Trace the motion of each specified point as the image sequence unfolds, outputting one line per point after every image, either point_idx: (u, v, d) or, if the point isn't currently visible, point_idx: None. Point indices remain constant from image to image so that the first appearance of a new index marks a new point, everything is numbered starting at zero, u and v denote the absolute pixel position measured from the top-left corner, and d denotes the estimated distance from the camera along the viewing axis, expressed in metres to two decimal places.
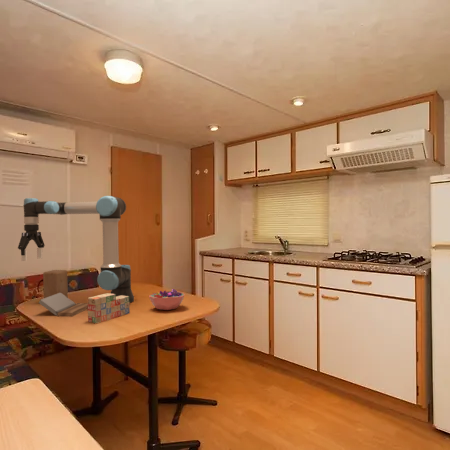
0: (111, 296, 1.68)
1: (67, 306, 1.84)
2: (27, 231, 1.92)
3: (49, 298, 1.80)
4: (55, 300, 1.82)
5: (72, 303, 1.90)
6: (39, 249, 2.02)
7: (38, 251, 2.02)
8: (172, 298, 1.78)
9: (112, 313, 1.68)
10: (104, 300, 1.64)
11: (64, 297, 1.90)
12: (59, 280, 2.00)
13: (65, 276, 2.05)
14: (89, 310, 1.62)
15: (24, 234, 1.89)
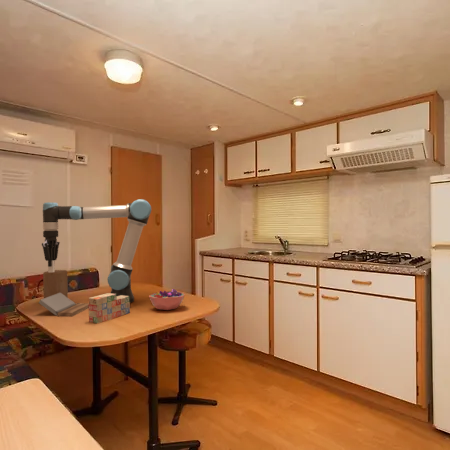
0: (112, 296, 1.68)
1: (67, 306, 1.84)
2: (46, 238, 1.80)
3: (49, 298, 1.80)
4: (55, 300, 1.82)
5: (72, 303, 1.90)
6: None
7: None
8: (172, 298, 1.78)
9: (113, 313, 1.68)
10: (105, 300, 1.64)
11: (64, 297, 1.90)
12: (59, 280, 2.00)
13: (65, 276, 2.05)
14: (90, 310, 1.62)
15: (45, 245, 1.78)
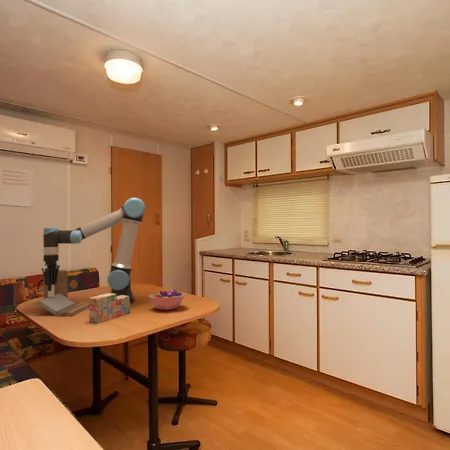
0: (112, 296, 1.68)
1: (67, 306, 1.84)
2: (47, 262, 1.80)
3: (48, 299, 1.80)
4: (54, 301, 1.82)
5: (72, 303, 1.90)
6: None
7: None
8: (172, 298, 1.78)
9: (113, 313, 1.68)
10: (105, 300, 1.64)
11: (64, 297, 1.91)
12: (59, 280, 2.00)
13: (65, 276, 2.05)
14: (91, 310, 1.62)
15: (45, 270, 1.78)
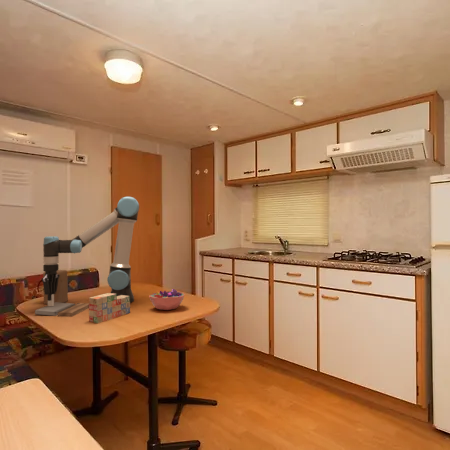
0: (112, 296, 1.68)
1: (65, 306, 1.84)
2: (47, 272, 1.80)
3: (44, 307, 1.81)
4: (51, 307, 1.83)
5: (70, 304, 1.90)
6: None
7: None
8: (172, 298, 1.78)
9: (113, 313, 1.69)
10: (105, 299, 1.64)
11: (60, 303, 1.91)
12: (59, 280, 2.00)
13: (65, 276, 2.05)
14: (90, 310, 1.62)
15: (45, 280, 1.78)
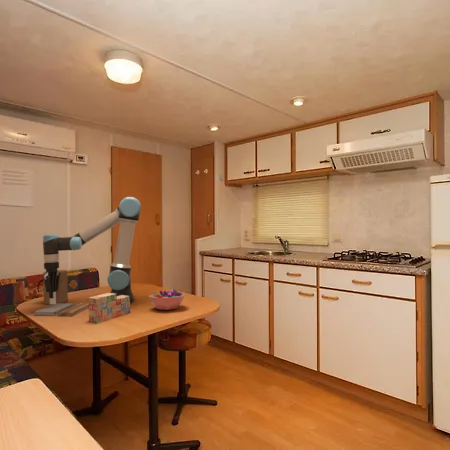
0: (112, 296, 1.68)
1: (65, 306, 1.84)
2: (47, 270, 1.80)
3: (44, 308, 1.81)
4: (51, 307, 1.83)
5: (70, 304, 1.90)
6: None
7: None
8: (172, 298, 1.78)
9: (113, 313, 1.69)
10: (105, 299, 1.65)
11: (60, 304, 1.91)
12: (59, 280, 2.00)
13: (65, 276, 2.05)
14: (90, 310, 1.63)
15: (46, 278, 1.78)
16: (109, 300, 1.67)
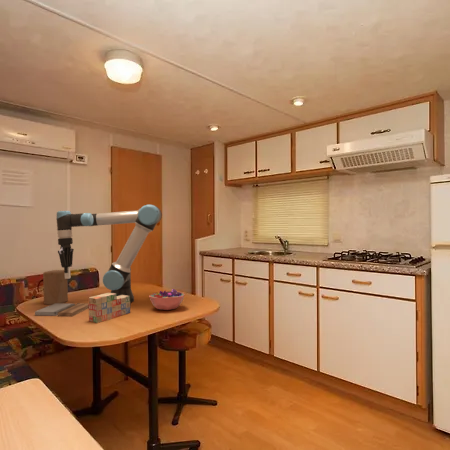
0: (112, 296, 1.69)
1: (65, 306, 1.84)
2: (62, 245, 1.85)
3: (44, 308, 1.81)
4: (51, 307, 1.83)
5: (70, 304, 1.90)
6: None
7: None
8: (172, 298, 1.78)
9: (113, 313, 1.69)
10: (105, 299, 1.65)
11: (60, 304, 1.91)
12: (59, 280, 2.00)
13: None
14: (90, 310, 1.63)
15: (61, 253, 1.83)
16: (109, 300, 1.67)
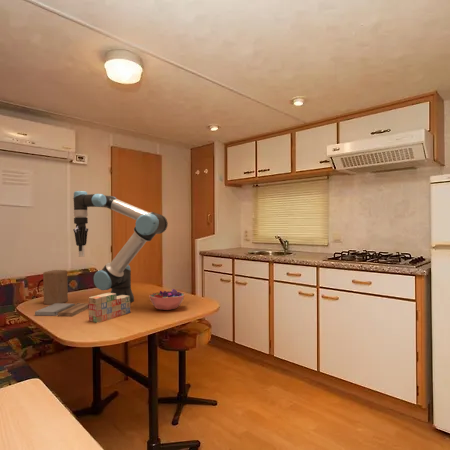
0: (112, 296, 1.69)
1: (65, 306, 1.84)
2: (77, 224, 1.93)
3: (44, 308, 1.81)
4: (51, 307, 1.83)
5: (70, 304, 1.90)
6: None
7: None
8: (172, 298, 1.78)
9: (113, 312, 1.69)
10: (104, 299, 1.65)
11: (60, 304, 1.91)
12: (59, 280, 2.00)
13: (65, 276, 2.05)
14: (90, 309, 1.63)
15: (76, 231, 1.90)
16: (109, 300, 1.67)
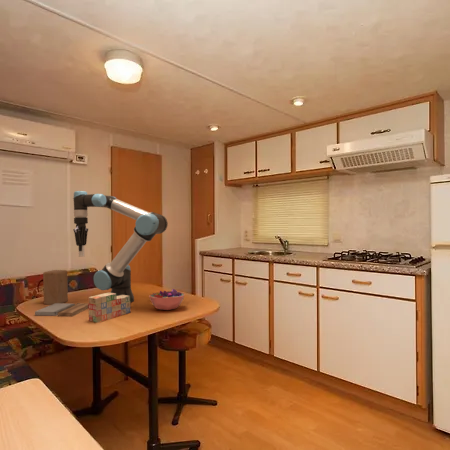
0: (112, 295, 1.69)
1: (65, 306, 1.84)
2: (77, 224, 1.93)
3: (44, 308, 1.81)
4: (51, 307, 1.83)
5: (70, 304, 1.90)
6: None
7: None
8: (172, 298, 1.78)
9: (113, 312, 1.69)
10: (104, 299, 1.65)
11: (60, 304, 1.91)
12: (59, 280, 2.00)
13: (65, 276, 2.05)
14: (90, 309, 1.64)
15: (76, 231, 1.90)
16: (109, 300, 1.67)
